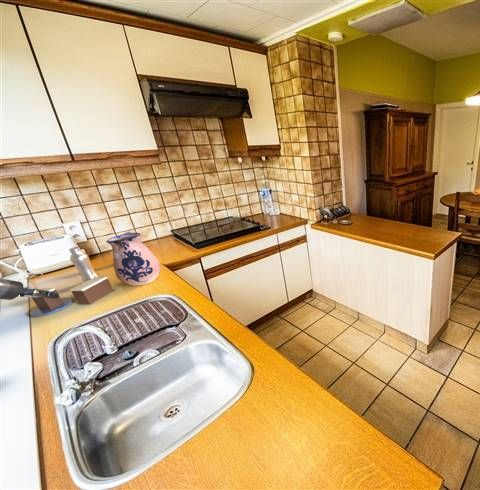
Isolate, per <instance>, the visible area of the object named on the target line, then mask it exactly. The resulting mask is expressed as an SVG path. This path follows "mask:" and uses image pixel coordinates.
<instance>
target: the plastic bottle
mask: <svg viewBox="0 0 480 490" xmlns="http://www.w3.org/2000/svg"><path fill="white" fill-rule="evenodd" d="M68 250H69V252H70V254H71V255H70V257H69V261H70V262H71V264H73V265H74V267H75V268H76V269H77V271H78V272H79V275H80V279H81V282H82V283H84V282H86V281H88V280H90V279H92V278H94V277H101V276H100V275H99V273H97V272H96V270H95V268H94V267H93V265H92V263H91V260H90V259H91V258H90V257H89V255H88V253H86V252H84V251H82V249H81V247H80V246H74V247H70V248H69V249H68Z"/></svg>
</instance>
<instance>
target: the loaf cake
mask: <svg viewBox="0 0 480 490" xmlns="http://www.w3.org/2000/svg"><path fill="white" fill-rule="evenodd" d="M69 290H70V292H71V293H72V295H73V297H74V298H75V300H76V302H77V303H78V305H91V304H93V303H95V302H96V301H98V300H101V298H103V297H105V296H107V295H108V294H110V293H112V292H114V288H113V287H112V284H111V283H110V281H109V279H108V277H107V276H100V277H94V278H92V279H90V280H88V281H86V282H84V283H83V282H82V283H80V284H78V285H76V286H74V287H72V288H70V289H69Z"/></svg>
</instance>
